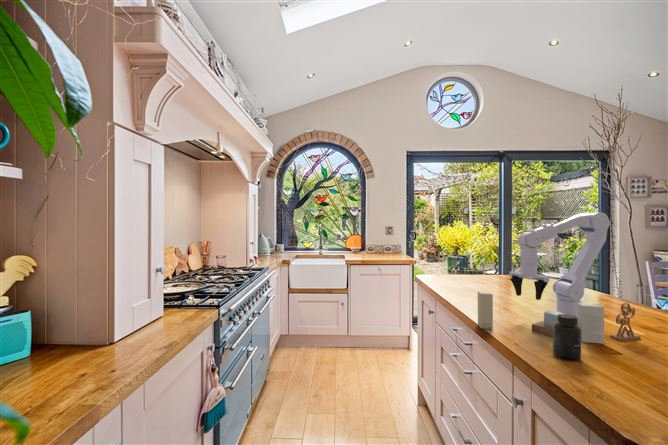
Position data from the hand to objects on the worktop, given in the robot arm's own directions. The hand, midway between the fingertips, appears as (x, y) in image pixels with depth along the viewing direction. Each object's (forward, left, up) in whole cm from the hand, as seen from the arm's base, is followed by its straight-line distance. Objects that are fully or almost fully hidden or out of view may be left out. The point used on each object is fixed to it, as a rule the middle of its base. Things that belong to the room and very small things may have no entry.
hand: (528, 297), depth 131 cm
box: (+21, -4, -10) cm, 23 cm away
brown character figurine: (-10, +27, -10) cm, 30 cm away
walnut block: (+5, +12, -10) cm, 16 cm away
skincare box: (+3, +22, -10) cm, 25 cm away
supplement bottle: (+24, +25, -10) cm, 36 cm away
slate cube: (+5, +12, -7) cm, 15 cm away
